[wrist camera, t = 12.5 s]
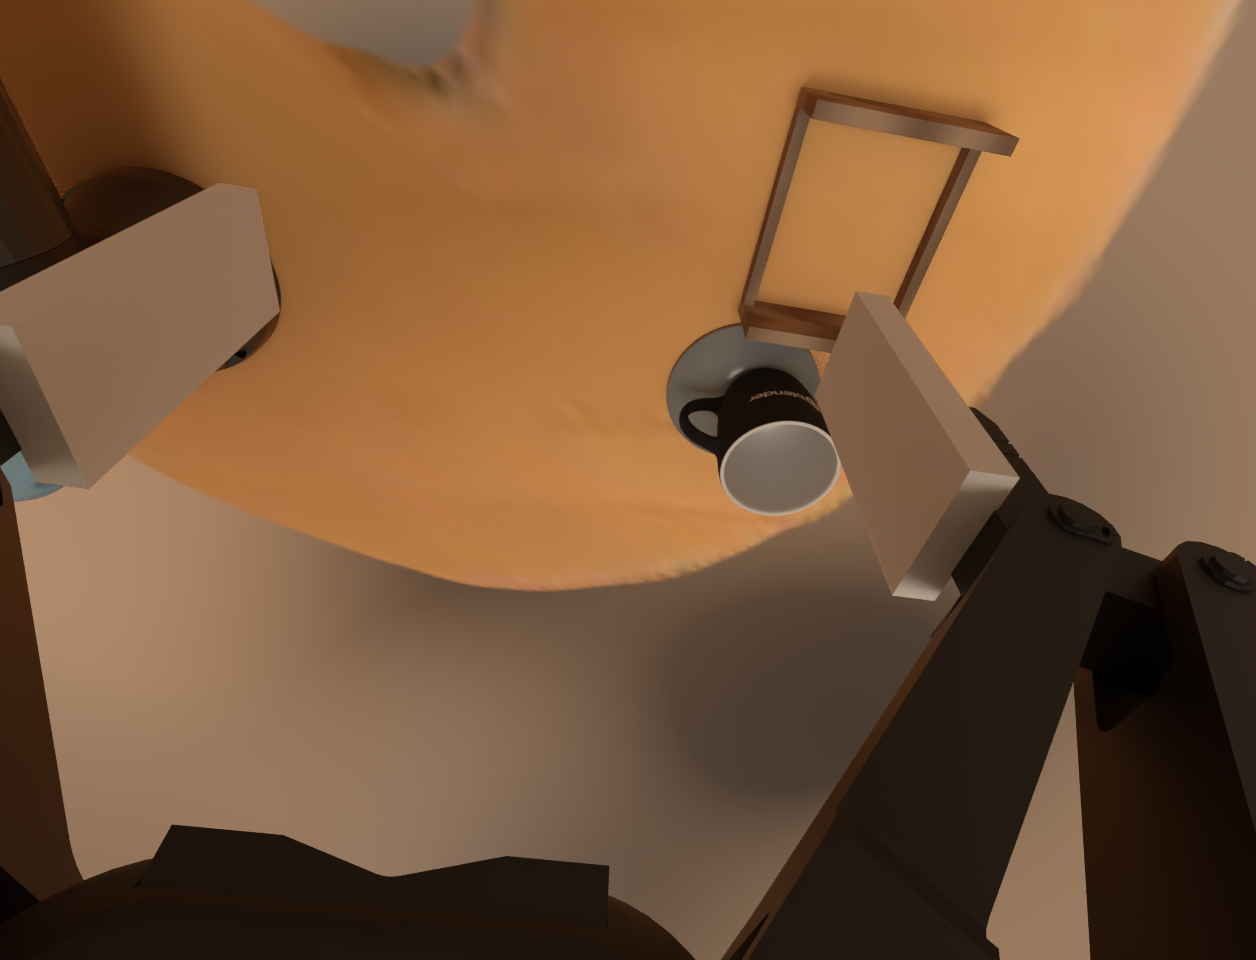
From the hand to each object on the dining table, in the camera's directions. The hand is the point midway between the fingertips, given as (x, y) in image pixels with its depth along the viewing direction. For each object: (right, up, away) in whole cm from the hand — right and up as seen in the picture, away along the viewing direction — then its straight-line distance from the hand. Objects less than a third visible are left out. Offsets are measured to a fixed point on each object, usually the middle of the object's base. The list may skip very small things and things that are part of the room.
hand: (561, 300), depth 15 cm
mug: (+12, +3, +41) cm, 43 cm away
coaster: (+11, +3, +41) cm, 43 cm away
